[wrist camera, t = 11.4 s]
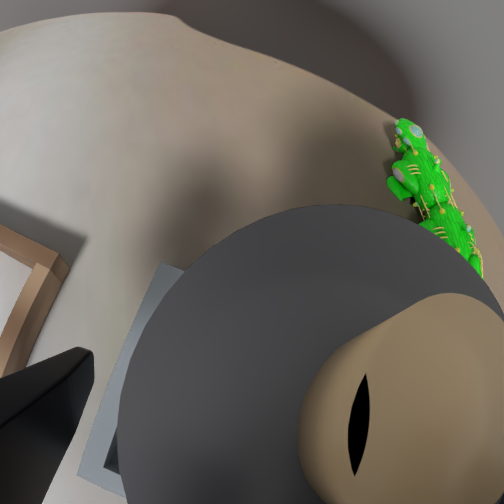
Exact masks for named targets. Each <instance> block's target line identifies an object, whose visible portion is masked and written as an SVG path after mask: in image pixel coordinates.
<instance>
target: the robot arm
mask: <svg viewBox="0 0 504 504" xmlns="http://www.w3.org/2000/svg"><path fill="white" fill-rule="evenodd" d="M93 383H94V355H93V352H92V351H90V350H88V349H85V348H82V347H75V348H72V349H70V350H67V351H65V352H63V353H60V354H58V355H55V356H53V357H51V358H48V359H46V360H43V361H41V362H38V363H36V364H33V365H31V366H29V367H26V368H24V369H21V370H19V371H16V372H14V373H11V374H9V375H6V376H4V377H1V378H0V504H42V502H43V500H44V497H45V495H46V493H47V491H48V489H49V486H50V484H51V482H52V480H53V478H54V476H55V473H56V471H57V469H58V467H59V465H60V463H61V461H62V459H63V457H64V455H65V453H66V451H67V449H68V447H69V445H70V443H71V441H72V438H73V436H74V434H75V432H76V429H77V427H78V424H79V421H80V418H81V416H82V413H83V410H84V407H85V405H86V402H87V399H88V397H89V394H90V391H91V389H92V386H93ZM499 504H504V495H503V497H502V499H501V501H500V503H499Z"/></svg>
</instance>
